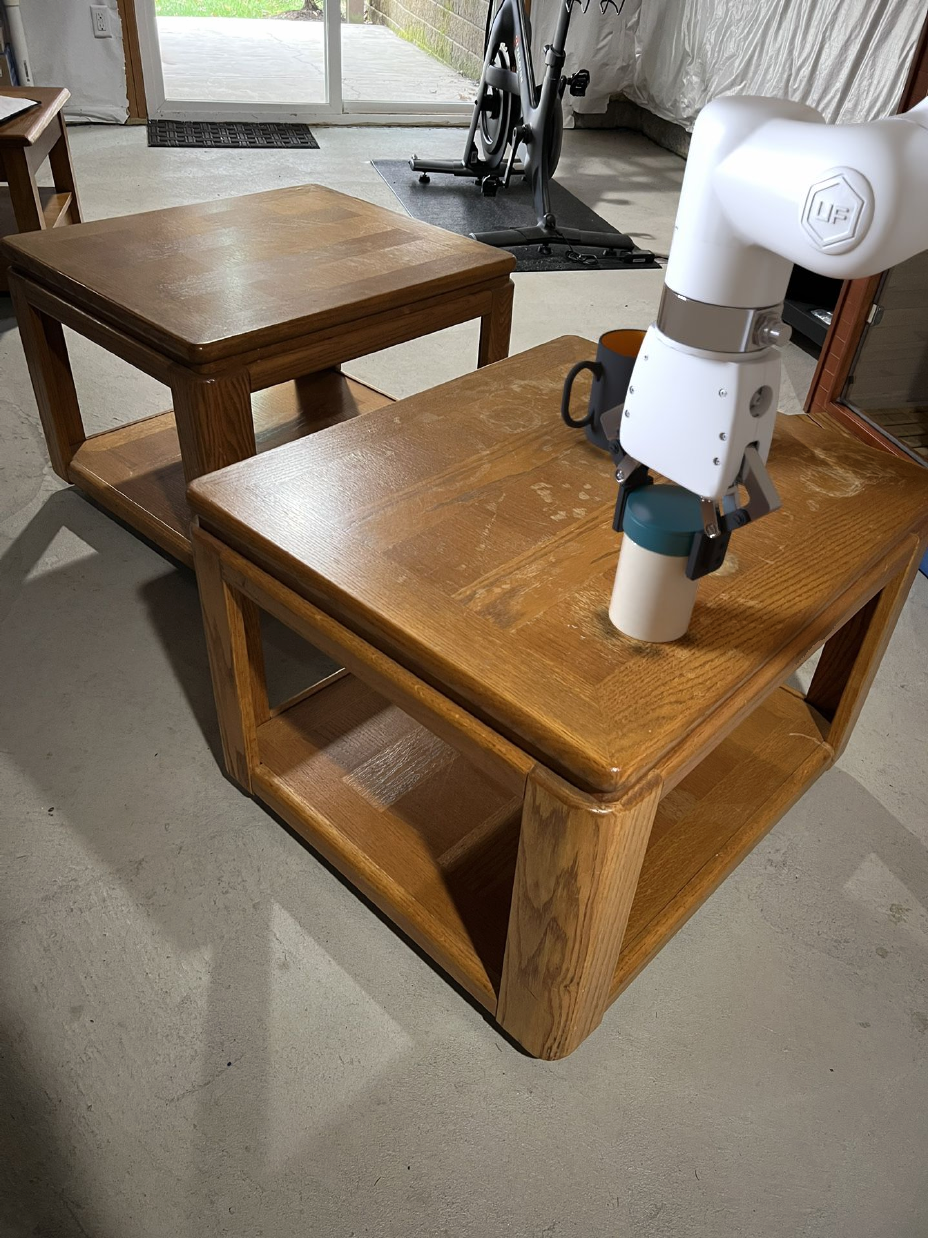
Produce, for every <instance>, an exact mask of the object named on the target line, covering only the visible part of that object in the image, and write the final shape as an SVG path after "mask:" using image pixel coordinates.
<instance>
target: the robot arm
mask: <svg viewBox="0 0 928 1238" xmlns="http://www.w3.org/2000/svg"><path fill="white" fill-rule="evenodd" d="M693 125H694V126H693V129H692V134H691V138H690V143H689V148H688V149H689V150H688V154H687V160H686V165H685V169H684V175H683V180H682V184H681V189H680V196H679V201H678V206H677V211H676V217H675V222H674V226H673V227H674V228H673V233H672V239H671V243H670V249H669V255H668V261H667V264H666V265H667V266H666V270H665V277H664V281H663V286H662V292H661V296H660V301H659V307H658V313H657V316H656V317H657V318H656V319H655V320H653V321H652V322H651V323H650V324H649V326H648V328H647V333H646V335H645V338H644V340H643V343H642V346H641V348H640V351H639V354H638V357H637V360H636V363H635V366H634V369H633V373H632V376H631V380H630V384H629V388H628V391H627V395H626V400H625V403H623V404H621V405H619V406H617V407H615V408H613V409H611V410H609V411H607V412H605V413H603V414H602V415H601V423H602V426H603V429H604V432H605V434H606V437H607V440H609V441H610V442H609V444H608V448H609V451H608V452H609V454H610V456H611V458H612V462H613V464H614V465H615V469H614V471H613V477H614V479H615V481H616V482H617V483H618V484H619V486H618V491H617V497H616V501H615V507H614V513H613V520H612V525H611V529H612V531H614V532H616V533H618V534H619V533H624V529H623V519H624V514H625V508H626V503H627V499H628V496H629V495H630V493H631V492H632V491H634V490H635V489H638V488H640V487H643V486H646V485H652V484H655V483H654V479H655V478H654V476H651V475H650V474H649V473H650V472H651V471H652V470H653V471H654V472H656V473H658V474H660V475H662V476H663V477H665V478H667V479H669V480H670V481H672V482H673V483H676V485H678V486H682V487H685V488H686V489H688V490H690V491H692V492H693V493H695V494H697V495H699V499H700V506H701V513H702V519H703V526H704V529H701V530H699V531H697V532H696V533H695V536H694V540H693V544H692V548H691V552H690V556H689V560H688V564H687V568H686V572H685V574H686V577H687V578H688V579H690V580H692V581H694V580H696V579H699V578H701V579H702V578H703V577H705V576H707V575H710V574H712V573H714V572H717V571H718V570H720V568H721V567H722V566H723V564H724V561H725V558H726V554H727V551H728V547H729V543H730V540H731V537H732V532H733V531H735V530H738V529H740V528H743V527H745V526H747V525H749V524H752V523H754V522H756V521H758V520H760V519H763V518H765V517H767V516H768V515H770V514H772V513H774V512H776V511H778V510H780V509H781V508H782V506H783V502H782V499H781V498H780V495H779V493H778V491H777V489H776V487H775V485H774V483H773V481H772V478H771V477H770V475H769V471H768V470H767V467H766V465H767V461H768V457H769V454H770V449H771V444H772V440H773V436H774V430H775V425H776V420H777V413H778V408H779V401H780V390H781V379H782V351H780V350H778V349H777V348H774V347H772V346H773V345H774V346H776V347H779V348H782V347H784V346H786V345H787V344H788V342H789V340H790V338H791V337H792V333H793V329H792V326H791V325H789V324H787V323H784V321H783V320H782V315H783V312H784V307H785V305H784V301H785V297H786V294H787V289H788V286H789V282H790V278H791V275H792V272H793V268H794V264H796V265H798V266H800V267H802V268H804V269H806V270H808V271H811V272H812V273H815V274H818V275H820V276H823V277H827V278H832V279H838V280H858V279H864V278H867V277H870V276H875V275H877V274H880V273H882V272H883V271H886V270H889V269H890V268H892V267H894V266H896V265H898V264H901V263H903V262H905V261H906V260H908V259H910V258H911V257H913V256H915V255H918V254H921V253H922V252H924V251H926V250H928V95H927V96H926V97H924V98H923V99H922V100H921V101H919V102H918V103H917V104H916V105H915V106H914V107H912V108H910V109H909V110H908V111H906V112H904V113H900V114H899V113H898V114H894V115H889V116H885V117H880V118H876V119H874V120H868V121H862V122H856V123H847V124H842V123H841V124H840V123H839V124H835V123H827V121H826V119H825V117H824V115H823V114H822V113H821V112H820V111H819V110H818V109H817V108H815V107H813V106H811V105H809V104H806V103H803V102H799V101H795V100H790V99H786V98H781V97H774V96H765V95H754V94H753V95H750V94H737V95H723V96H720V97H717V98H714V99H712V100H711V101H709V102H708V103H706V104H705V105H704V106H703V107H702V109H701V110H700V111H699V113H698V115H697V117H696V119H695V122H694V124H693ZM739 486H743V487H744V488H745V490H746V493H747V495H748V498H749V499H748V500H749V501H748V503H746V504H745V505H743V506H742V503H741V497H740V489H739ZM719 501H721V506H722V513H723V515H722V514H721V515H720V513H721V509H720V502H719Z"/></svg>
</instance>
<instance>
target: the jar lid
mask: <svg viewBox="0 0 928 1238" xmlns="http://www.w3.org/2000/svg"><path fill="white" fill-rule="evenodd" d="M720 515H721V516H722V513H721V512H720ZM623 529H624V532H625V533H626V535H627V536H628V537H629V538H630V539H631V540H632V541H633V542H634V543H636V544H637V545H639V546H641V547H643V548H645V549H647V550H650V551H653V552H656V553H660V554H664V555H671V556H690V552H691V548H692V544H693V540H694V536H695V533H696V532H697V531H699V530H701V529H704V526H703V519H702V513H701V506H700V499H699V495H697V494H695V493H693V492H692V491H690V490H688V489H686V488H685V487H683V486H681V485H678V484H670V483H669V484H668V483H654V484H652V485H646V486H643V487H640V488H638V489H635V490H634V491H632V492H631V493H630V495H629V496H628V499H627V503H626V508H625V514H624V519H623ZM624 532H623V533H624Z"/></svg>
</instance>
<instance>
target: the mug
mask: <svg viewBox="0 0 928 1238" xmlns="http://www.w3.org/2000/svg"><path fill="white" fill-rule="evenodd" d="M647 331H648V329H638V328H618V329H612V330H608V331H606V332H604V333H602V334H601V335H600V336H599V338H598V342H597V348H596V356H595V361H592V360H582V361H579V362H578V363H576V364H575V365H573V367H572V368H571V369H570V370H569V372H568V374H566V375H567V376H566V378H565V379H564V383H563V390H562V396H561V404H560V414H561V418H562V421H563V422H564V424H565V425H566V426H567V427H568V428H572V429H582V428H584V435H585V438H586V439H587V441H588V442H590V444H592V445H593V446H595V447H597V448H598V449H601V450H604V451H607V452H610V451H609V448H608V444H609V442H610V441H609V440H607V437H606V434H605V432H604V429H603V426H602V423H601V415H602V414H603V413H605V412H607V411H609V410H611V409H613V408H615V407H617V406H619V405H621V404H623V403H625V400H626V395H627V391H628V388H629V384H630V380H631V376H632V373H633V369H634V366H635V363H636V360H637V357H638V354H639V351H640V348H641V346H642V343H643V340H644V338H645V335H646V333H647ZM585 369H587V370H589V371H590V372H591V373H592V382H591V389H590V394H589V402H588V406H587V408H588V409H587V413H586V414H587V415H586V416H585V417H584V418H583V419H580V420H574V419H573V418H572V416H571V415H570V404H571V403H570V402H571V395H572V388H573V383H574V381H575V379H576V377H577V376H578V374H579V373H581V372H582V371H583V370H585Z"/></svg>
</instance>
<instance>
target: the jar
mask: <svg viewBox="0 0 928 1238" xmlns="http://www.w3.org/2000/svg"><path fill="white" fill-rule="evenodd" d="M688 560H689V556H671V555H664V554H660V553H656V552H653V551H650V550H647V549H645V548H643V547H641V546H639V545H637V544H636V543H634V542H633V541H632V540H631V539H630V538H629V537H628V536H627V535H626V533H625V532H623V534H622V541H621V546H620V551H619V556H618V562H617V565H616V566H617V567H616V572H615V575H614V576H615V577H614V580H613V581H614V582H613V586H612V591H611V596H610V597H611V598H610V602H609V606H608V617H609V620H610V622H611V623H612V624H613V626H614V627H615V628H616V629H617V630H619V631H620V632H621V633H623V634H624V635H626V636H628V637H631V638H632V639H635V640H638V641H642V642H646V643H657V644H659V643H669V642H672V641H673V642H674V641H675V640H678V639H680V638H681V637H683V636H684V635H685V634H686V633H687V631H688V630H689V627H690V623H691V619H692V615H693V612H694V608H695V604H696V600H697V596H698V592H699V588H700V586H701V585H700V584H701V582H702V581H701V580H702V577H701V578H699V579H696V580H694V581H692V580H690V579H688V578H687V577H686V574H685V572H686V568H687V564H688Z"/></svg>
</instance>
